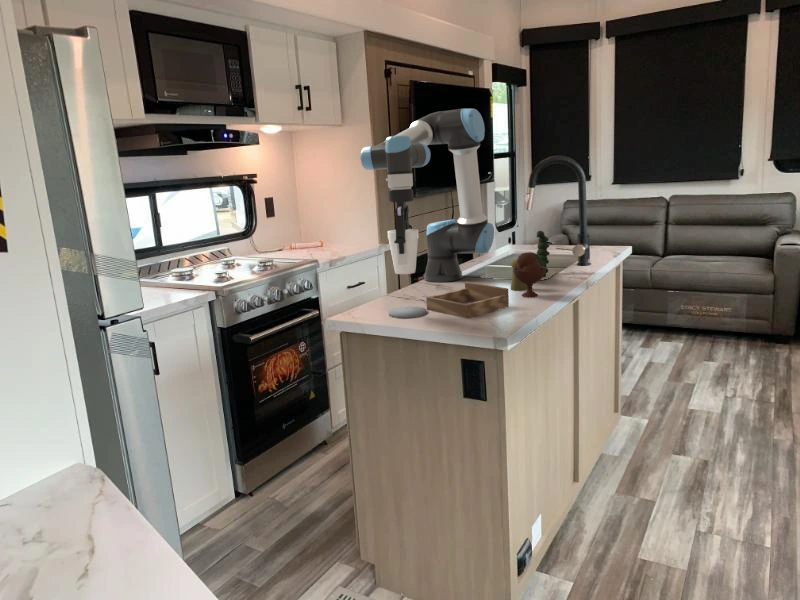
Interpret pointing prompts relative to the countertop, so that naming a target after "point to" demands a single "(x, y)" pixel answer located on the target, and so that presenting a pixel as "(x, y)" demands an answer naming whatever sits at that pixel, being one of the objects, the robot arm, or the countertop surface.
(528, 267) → the ice cream bowl
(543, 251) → the toy figurine
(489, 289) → the frame
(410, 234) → the foam cup
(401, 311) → the rubber mat
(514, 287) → the cork
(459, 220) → the robot arm
